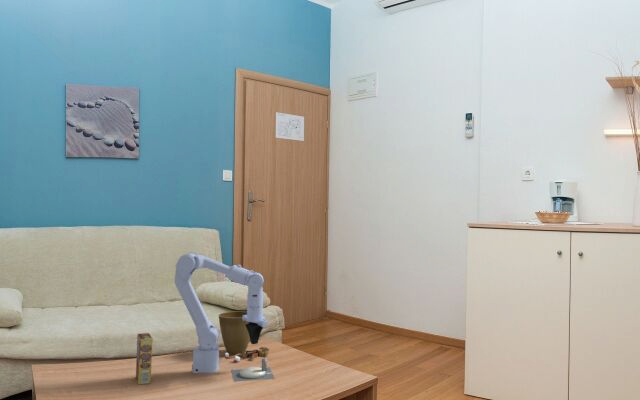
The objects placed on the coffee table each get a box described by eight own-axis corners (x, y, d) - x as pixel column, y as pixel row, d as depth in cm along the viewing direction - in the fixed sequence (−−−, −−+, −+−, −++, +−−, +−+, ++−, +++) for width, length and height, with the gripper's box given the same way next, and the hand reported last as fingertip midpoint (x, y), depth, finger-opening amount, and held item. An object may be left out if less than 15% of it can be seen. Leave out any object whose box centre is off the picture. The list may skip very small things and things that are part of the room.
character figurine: (224, 361, 198) (224, 351, 198) (263, 353, 210) (263, 343, 210) (236, 367, 191) (236, 356, 191) (275, 358, 202) (276, 348, 202)
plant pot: (259, 354, 206) (260, 315, 207) (225, 359, 199) (225, 319, 199) (246, 346, 219) (246, 309, 220) (213, 350, 212) (213, 312, 212)
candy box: (151, 383, 171) (152, 338, 171) (138, 385, 169) (139, 339, 169) (148, 375, 179) (149, 332, 179) (135, 377, 177) (136, 333, 177)
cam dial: (239, 378, 173) (240, 363, 173) (239, 370, 182) (240, 356, 182) (267, 377, 174) (267, 362, 174) (266, 369, 183) (266, 355, 183)
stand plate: (234, 384, 170) (234, 381, 170) (231, 372, 183) (231, 369, 183) (275, 381, 174) (275, 378, 174) (269, 370, 186) (269, 367, 186)
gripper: (275, 308, 181) (274, 346, 181) (254, 302, 193) (253, 337, 192) (258, 310, 177) (257, 349, 177) (237, 304, 188) (237, 340, 188)
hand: (254, 343), depth 184 cm, fingers closed
